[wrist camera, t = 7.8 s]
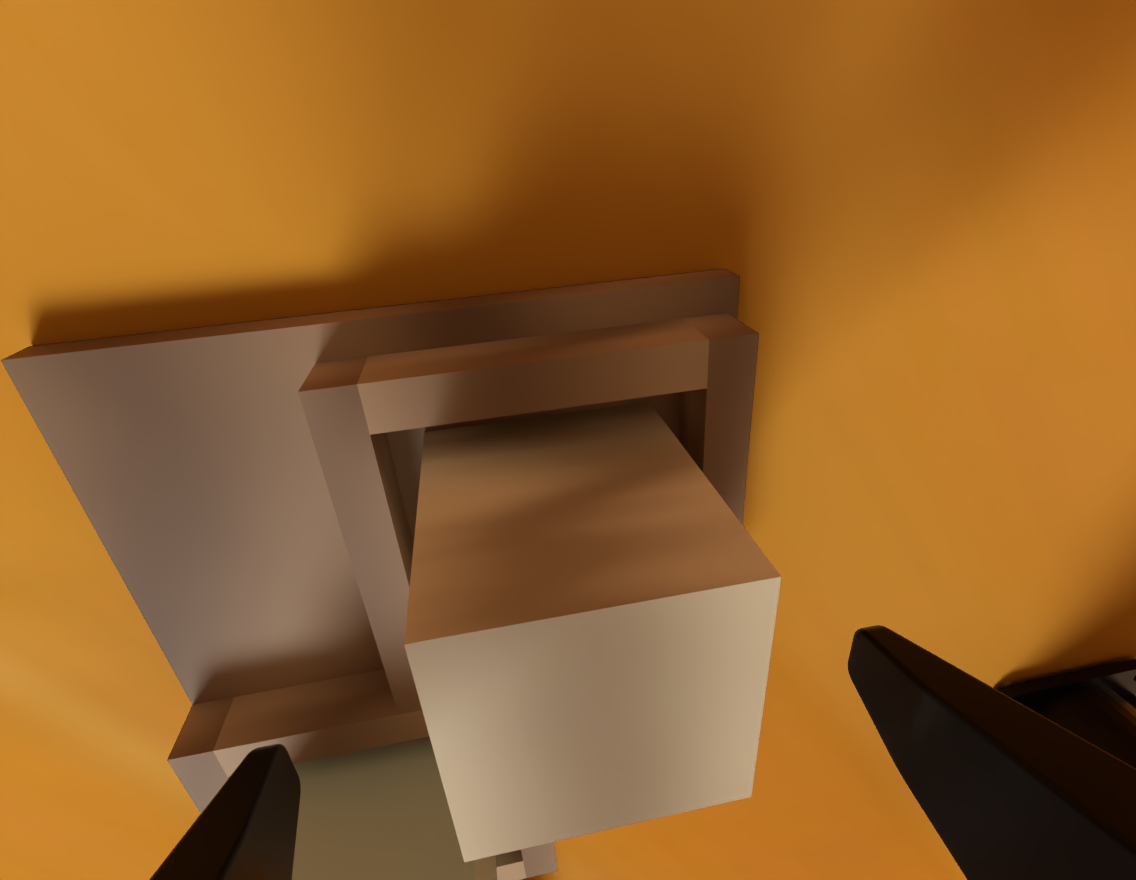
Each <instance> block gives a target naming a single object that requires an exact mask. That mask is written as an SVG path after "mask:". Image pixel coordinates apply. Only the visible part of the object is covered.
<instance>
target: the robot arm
mask: <svg viewBox="0 0 1136 880" xmlns="http://www.w3.org/2000/svg"><path fill="white" fill-rule="evenodd" d="M848 670H849V674H850V677H851V679H852V682H853V684H854V685H855V687H856V689H857V691H858V693H859V695H860V697H861V699H862V701H863V703H864V705H865V707H866V709H867V711H868V713H869V715H870V717H871V719H872V721H873V723H874V725H875V726H876V728H877V730H878V732H879V734H880V736H881V738H882V740H883V742H884V744H885V746H886V748H887V750H888V752H889V754H890V756H891V758H892V759H893V761H894V763H895V765H896V767H897V769H898V770H899V772H900V774H901V775H902V777H903V779H904V780H905V782H906V784H907V785H908V787H909V788H910V790H911V792H912V793H913V795H914V796H915V798H916V799H917V801H918V803H919V804H920V806H921V807H922V809H923V810H924V812H925V814H926V815H927V817H928V818H929V820H930V821H931V823H932V825H933V826H934V828H935V829H936V831H937V833H938V834H939V836H940V837H941V839H942V840H943V842H944V844H945V845H946V847H947V848H948V850H949V851H950V853H951V855H952V856H953V858H954V859H955V861H956V862H957V864H958V866H959V867H960V869H961V870H962V872H963V873H964V875H965V877H966V878H967V880H1136V659H1133V660H1128V661H1124V662H1119V663H1115V664H1110V665H1105V666H1101V667H1096V668H1092V669H1087V670H1082V671H1078V672H1073V673H1069V674H1064V675H1059V676H1055V677H1050V678H1046V679H1041V680H1037V681H1032V682H1027V683H1023V684H1018V685H1014V686H1009V687H1006V688H1003V689H1002V690H1000V691H998V690H996V689H994V688H992V687H991V686H989V685H987V684H985V683H984V682H982V681H980V680H978V679H976V678H975V677H973V676H971V675H969V674H968V673H966V672H964V671H962V670H961V669H959V668H957V667H955V666H954V665H952V664H950V663H948V662H946V661H945V660H943V659H941V658H939V657H938V656H936V655H934V654H932V653H931V652H929V651H927V650H925V649H924V648H922V647H920V646H918V645H917V644H915V643H913V642H911V641H909V640H908V639H906V638H904V637H902V636H901V635H899V634H897V633H895V632H894V631H892V630H890V629H888V628H886V627H884V626H879V625H878V626H871V627H866V628H861V629H858V630H857V631H856V632H855V634H854V638H853V642H852V647H851V651H850V655H849V660H848ZM300 795H301V784H300V778H299V775H298V773H297V771H296V769H295V767H294V764H293V762H292V760H291V758H290V756H289V754H288V752H287V749H286V748H285V746H283V745H282V744H274V745H269V746H264V747H259V748H256V749H253V750H252V751H251V752H249V753H248V754H247V755H246V757H245V758H244V759H243V761H242V762H241V763H240V764H239V766H238V767H237V768H236V769H235V771H234V772H233V773H232V775H231V776H230V777H229V778H228V780H227V781H226V782H225V784H224V785H223V786H222V787H221V789H220V790H219V791H218V793H217V794H216V795H215V796H214V798H213V799H212V800H211V802H210V803H209V804H208V805H207V807H206V808H205V809H204V810H203V812H202V813H201V814H200V816H199V817H198V818H197V819H196V821H195V822H194V823H193V825H192V826H191V827H190V828H189V830H188V831H187V832H186V834H185V835H184V836H183V837H182V839H181V840H180V841H179V843H178V844H177V845H176V846H175V848H174V849H173V850H172V851H171V853H170V854H169V855H168V857H167V858H166V859H165V860H164V862H163V863H162V864H161V866H160V867H159V868H158V869H157V871H156V872H155V873H154V875H153V876H152V877H151V878H150V880H292V872H293V862H294V853H295V843H296V834H297V824H298V815H299V805H300Z"/></svg>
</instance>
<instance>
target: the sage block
mask: <svg viewBox="0 0 1136 880" xmlns="http://www.w3.org/2000/svg"><path fill="white" fill-rule="evenodd" d="M294 767H295V769H296V771H297V773H298V775H299V778H300V784H301V795H300V805H299V815H298V824H297V834H296V843H295V853H294V862H293V872H292V880H497V866H496V855H494V856H490V857H486V858H481V859H477V860H473V861H468V862H464V859H463V856H462V852H461V848H460V845H459V841H458V838H457V834H456V830H455V827H454V823H453V820H452V816H451V812H450V809H449V805H448V801H447V798H446V794H445V791H444V787H443V783H442V780H441V776H440V773H439V769H438V765H437V762H436V758H435V754H434V751H433V747H432V744H431V740H430V736H429V737H424V738H419V739H415V740H410V741H405V742H400V743H395V744H390V745H385V746H380V747H375V748H370V749H365V750H360V751H355V752H350V753H345V754H340V755H335V756H330V757H325V758H320V759H316V760H311V761H306V762H301V763H296V764H294Z"/></svg>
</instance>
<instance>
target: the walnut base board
mask: <svg viewBox="0 0 1136 880" xmlns="http://www.w3.org/2000/svg"><path fill="white" fill-rule="evenodd" d="M739 285H740V276H738V275H736V274H734V273H732V272H730V271H728V270H726V269H719V270H710V271H701V272H692V273H683V274H674V275H665V276H656V277H647V278H638V279H629V280H620V281H611V282H602V283H593V284H584V285H575V286H566V287H557V288H549V289H540V290H531V291H522V292H513V293H504V294H495V295H486V296H477V297H468V298H459V299H450V300H441V301H432V302H423V303H414V304H405V305H396V306H387V307H378V308H369V309H360V310H351V311H342V312H333V313H324V314H315V315H307V316H298V317H289V318H280V319H271V320H262V321H253V322H244V323H235V324H226V325H217V326H208V327H199V328H190V329H181V330H172V331H163V332H154V333H145V334H136V335H127V336H118V337H109V338H100V339H91V340H82V341H73V342H65V343H56V344H47V345H38V346H29V347H27V348H25V349H23V350H21V351H19V352H17V353H15V354H13V355H11V356H9V357H7V358H5V359H2V360H1V361H2V363H3V365H4V367H5V369H6V370H7V372H8V374H9V376H10V378H11V379H12V381H13V383H14V385H15V387H16V388H17V390H18V392H19V394H20V396H21V397H22V399H23V401H24V403H25V405H26V406H27V408H28V410H29V412H30V414H31V415H32V417H33V419H34V421H35V423H36V424H37V426H38V428H39V430H40V432H41V433H42V435H43V437H44V439H45V441H46V442H47V444H48V446H49V448H50V450H51V451H52V453H53V455H54V457H55V458H56V460H57V462H58V464H59V466H60V467H61V469H62V471H63V473H64V475H65V476H66V478H67V480H68V482H69V484H70V485H71V487H72V489H73V491H74V493H75V494H76V496H77V498H78V500H79V502H80V503H81V505H82V507H83V509H84V511H85V512H86V514H87V516H88V518H89V520H90V521H91V523H92V525H93V527H94V529H95V530H96V532H97V534H98V536H99V538H100V539H101V541H102V543H103V545H104V547H105V548H106V550H107V552H108V554H109V556H110V557H111V559H112V561H113V563H114V565H115V566H116V568H117V570H118V572H119V573H120V575H121V577H122V579H123V581H124V582H125V584H126V586H127V588H128V590H129V591H130V593H131V595H132V597H133V599H134V600H135V602H136V604H137V606H138V608H139V609H140V611H141V613H142V615H143V617H144V618H145V620H146V622H147V624H148V626H149V627H150V629H151V631H152V633H153V635H154V636H155V638H156V640H157V642H158V644H159V645H160V647H161V649H162V651H163V653H164V654H165V656H166V658H167V660H168V662H169V663H170V665H171V667H172V669H173V671H174V672H175V674H176V676H177V678H178V680H179V681H180V683H181V685H182V687H183V688H184V690H185V692H186V694H187V696H188V697H189V699H190V701H191V703H192V707H191V710H190V712H189V714H188V716H187V718H186V720H185V723H184V725H183V727H182V729H181V731H180V733H179V736H178V738H177V740H176V742H175V744H174V746H173V749H172V751H171V753H170V755H169V757H168V760H167V761H168V762H169V764H170V765H171V767H172V768H173V770H174V772H175V773H176V775H177V776H178V778H179V780H180V781H181V783H182V784H183V786H184V788H185V789H186V791H187V792H188V794H189V795H190V797H191V799H192V800H193V802H194V803H195V805H196V807H197V808H198V810H199V811H200V813H202V812H203V810H204V809H205V808H206V807H207V805H208V804H209V803H210V802H211V800H212V799H213V798H214V796H215V795H216V794H217V793H218V791H219V790H220V789H221V787H222V786H223V785H224V784H225V782H226V781H227V780H228V778H229V777H230V776H231V775H232V773H233V772H234V771H235V769H236V768H237V767H238V766H239V764H240V763H241V762H242V761H243V759H244V758H245V757H246V755H247V754H248V753H249V752H251V751H252V750H253V749H256V748H259V747H264V746H269V745H274V744H282V745H283V746H285V748H286V749H287V752H288V754H289V756H290V758H291V760H292V762H293V764H296V763H301V762H306V761H311V760H316V759H320V758H325V757H330V756H335V755H340V754H345V753H350V752H355V751H360V750H365V749H370V748H375V747H380V746H385V745H390V744H395V743H400V742H405V741H410V740H415V739H419V738H424V737H429V733H428V729H427V726H426V722H425V718H424V715H423V711H422V708H421V704H420V700H419V697H418V693H417V689H416V686H415V682H414V679H413V675H412V671H411V668H410V664H409V661H408V657H407V653H406V650H405V646H404V640H405V630H406V619H407V609H408V598H409V588H410V577H411V567H412V557H413V546H414V536H415V525H416V515H417V504H418V494H419V484H420V473H421V463H422V452H423V442H424V432H430V431H437V430H444V429H452V428H459V427H466V426H474V425H481V424H488V423H496V422H503V421H510V420H518V419H525V418H532V417H540V416H547V415H555V414H562V413H569V412H577V411H584V410H591V409H599V408H606V407H613V406H621V405H628V404H635V403H643V402H650V403H651V405H652V406H653V407H654V409H655V410H656V411H657V413H658V414H659V415H660V416H661V418H662V419H663V420H664V422H665V423H666V424H667V426H668V427H669V428H670V430H671V431H672V432H673V434H674V435H675V436H676V438H677V439H678V440H679V442H680V443H681V444H682V446H683V447H684V448H685V450H686V451H687V452H688V454H689V455H690V456H691V458H692V459H693V460H694V462H695V463H696V464H697V466H698V467H699V468H700V470H701V471H702V472H703V474H704V475H705V476H706V478H707V479H708V480H709V482H710V483H711V484H712V485H713V487H714V488H715V489H716V491H717V492H718V493H719V495H720V496H721V497H722V499H723V500H724V501H725V503H726V504H727V505H728V507H729V508H730V509H731V511H732V512H733V513H734V515H735V516H736V517H737V519H738V520H739V521H740V523H741V524H742V521H743V509H744V498H745V487H746V475H747V464H748V452H749V441H750V430H751V418H752V407H753V395H754V384H755V373H756V361H757V350H758V338H759V333H758V332H756V331H754V330H753V329H751V328H750V327H748V326H746V325H745V324H743V323H742V322H740V321H738V320H737V314H738V299H739ZM496 866H497V880H521V879H525V878H530V877H534V876H538V875H542V874H547V873H551V872H555V871H558V869H557V862H556V855H555V848H554V842H551V843H547V844H543V845H538V846H534V847H529V848H525V849H521V850H516V851H512V852H508V853H503V854H499V855H496Z"/></svg>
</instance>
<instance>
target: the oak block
mask: <svg viewBox="0 0 1136 880" xmlns="http://www.w3.org/2000/svg"><path fill="white" fill-rule="evenodd" d="M780 582H781V576H780V574H779V573H778V572H777V570H776V569H775V568H774V566H773V565H772V564H771V562H770V561H769V560H768V558H767V557H766V556H765V554H764V553H763V552H762V551H761V549H760V548H759V547H758V545H757V544H756V543H755V541H754V540H753V539H752V537H751V536H750V535H749V533H748V532H747V531H746V529H745V528H744V527H743V525H742V524H741V523H740V521H739V520H738V519H737V517H736V516H735V515H734V513H733V512H732V511H731V509H730V508H729V507H728V505H727V504H726V503H725V501H724V500H723V499H722V497H721V496H720V495H719V493H718V492H717V491H716V489H715V488H714V487H713V485H712V484H711V483H710V482H709V480H708V479H707V478H706V476H705V475H704V474H703V472H702V471H701V470H700V468H699V467H698V466H697V464H696V463H695V462H694V460H693V459H692V458H691V456H690V455H689V454H688V452H687V451H686V450H685V448H684V447H683V446H682V444H681V443H680V442H679V440H678V439H677V438H676V436H675V435H674V434H673V432H672V431H671V430H670V428H669V427H668V426H667V424H666V423H665V422H664V420H663V419H662V418H661V416H660V415H659V414H658V413H657V411H656V410H655V409H654V407H653V406H652V405H651V403H650V402H643V403H635V404H628V405H621V406H613V407H606V408H599V409H591V410H584V411H577V412H569V413H562V414H555V415H547V416H540V417H532V418H525V419H518V420H510V421H503V422H496V423H488V424H481V425H474V426H466V427H459V428H452V429H444V430H437V431H430V432H424V442H423V452H422V463H421V473H420V484H419V494H418V504H417V515H416V525H415V536H414V546H413V557H412V567H411V577H410V588H409V598H408V609H407V619H406V630H405V640H404V646H405V650H406V653H407V657H408V661H409V664H410V668H411V671H412V675H413V679H414V682H415V686H416V689H417V693H418V697H419V700H420V704H421V708H422V711H423V715H424V718H425V722H426V726H427V729H428V733H429V736H430V740H431V744H432V747H433V751H434V754H435V758H436V762H437V765H438V769H439V773H440V776H441V780H442V783H443V787H444V791H445V794H446V798H447V801H448V805H449V809H450V812H451V816H452V820H453V823H454V827H455V830H456V834H457V838H458V841H459V845H460V848H461V852H462V856H463V859H464V862H468V861H473V860H477V859H481V858H486V857H490V856H494V855H499V854H503V853H508V852H512V851H516V850H521V849H525V848H529V847H534V846H538V845H543V844H547V843H551V842H556V841H560V840H564V839H569V838H573V837H578V836H582V835H586V834H591V833H595V832H600V831H604V830H608V829H613V828H617V827H621V826H626V825H630V824H635V823H639V822H643V821H648V820H652V819H656V818H661V817H665V816H670V815H674V814H678V813H683V812H687V811H691V810H696V809H700V808H705V807H709V806H713V805H718V804H722V803H727V802H731V801H735V800H740V799H744V798H748V797H751V794H752V787H753V780H754V772H755V765H756V758H757V750H758V743H759V736H760V728H761V721H762V714H763V706H764V699H765V692H766V684H767V677H768V670H769V663H770V655H771V648H772V641H773V633H774V626H775V619H776V611H777V604H778V597H779V589H780Z"/></svg>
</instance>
